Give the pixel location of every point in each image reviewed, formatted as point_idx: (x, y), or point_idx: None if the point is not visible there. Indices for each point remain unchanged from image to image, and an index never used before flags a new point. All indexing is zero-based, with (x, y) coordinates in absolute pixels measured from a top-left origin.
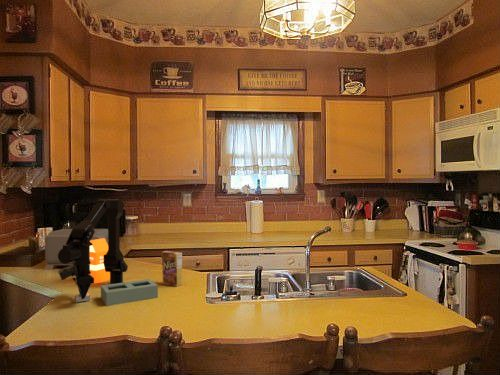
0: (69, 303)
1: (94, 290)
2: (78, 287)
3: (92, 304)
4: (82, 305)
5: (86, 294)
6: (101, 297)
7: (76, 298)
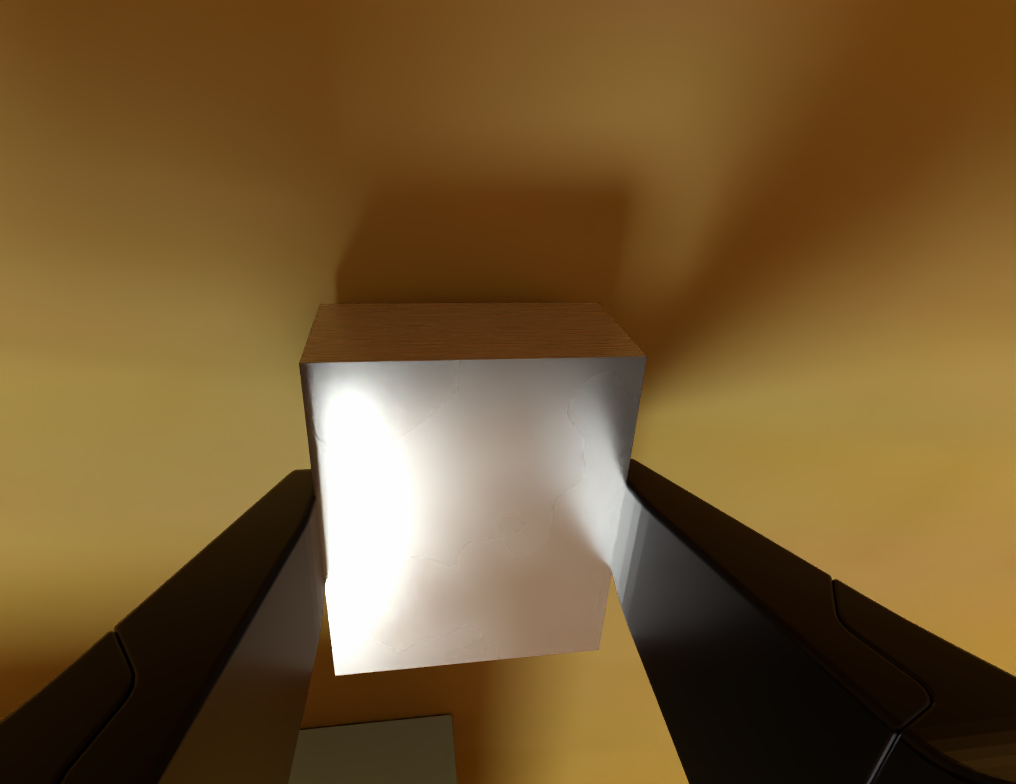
0: (405, 125)
1: (976, 650)
2: (755, 608)
3: (40, 587)
4: (31, 403)
5: (452, 616)
6: (383, 746)
7: (309, 351)
